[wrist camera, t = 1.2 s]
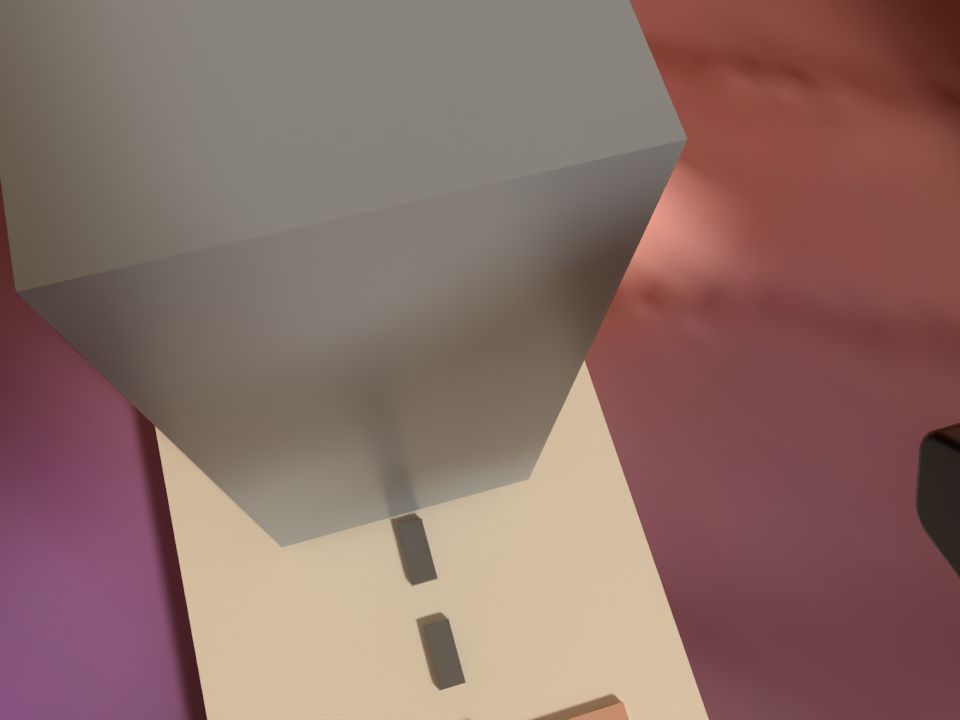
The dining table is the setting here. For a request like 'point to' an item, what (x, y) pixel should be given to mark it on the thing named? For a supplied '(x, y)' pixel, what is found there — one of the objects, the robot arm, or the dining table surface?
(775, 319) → the dining table surface
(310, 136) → the stub
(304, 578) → the pad
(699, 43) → the dining table surface
